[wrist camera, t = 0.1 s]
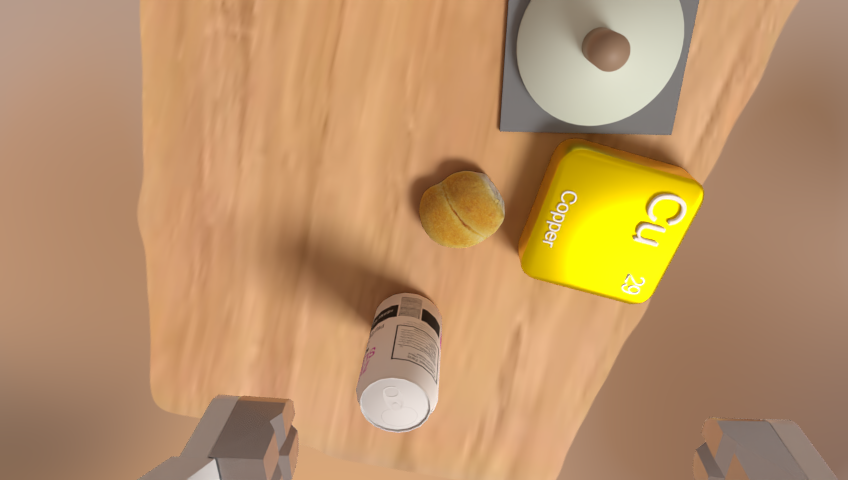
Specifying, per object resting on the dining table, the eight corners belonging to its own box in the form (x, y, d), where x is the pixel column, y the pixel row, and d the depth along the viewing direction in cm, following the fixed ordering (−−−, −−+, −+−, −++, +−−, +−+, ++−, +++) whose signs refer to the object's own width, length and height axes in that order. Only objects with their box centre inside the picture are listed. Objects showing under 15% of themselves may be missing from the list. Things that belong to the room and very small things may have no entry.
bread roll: (406, 199, 61) (403, 214, 57) (475, 155, 58) (476, 168, 55) (448, 255, 64) (447, 272, 60) (516, 216, 61) (519, 231, 58)
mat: (512, -59, 49) (512, -59, 49) (709, -58, 48) (711, -59, 48) (499, 130, 57) (500, 131, 56) (669, 133, 56) (671, 135, 56)
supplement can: (448, 340, 69) (445, 431, 55) (384, 349, 70) (366, 441, 57) (434, 284, 65) (427, 367, 52) (367, 296, 67) (343, 379, 53)
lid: (523, -47, 49) (530, -48, 44) (696, -46, 48) (723, -47, 44) (510, 121, 56) (515, 136, 51) (662, 124, 55) (682, 140, 50)
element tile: (560, 132, 57) (568, 145, 53) (697, 170, 58) (715, 187, 54) (512, 256, 64) (515, 277, 59) (635, 289, 65) (648, 312, 60)
